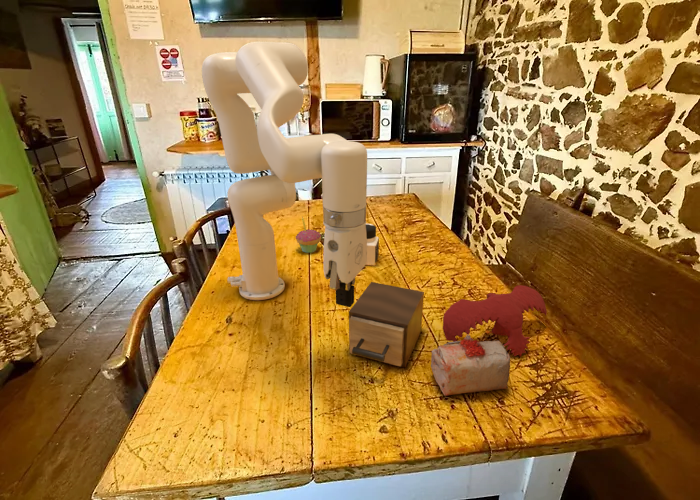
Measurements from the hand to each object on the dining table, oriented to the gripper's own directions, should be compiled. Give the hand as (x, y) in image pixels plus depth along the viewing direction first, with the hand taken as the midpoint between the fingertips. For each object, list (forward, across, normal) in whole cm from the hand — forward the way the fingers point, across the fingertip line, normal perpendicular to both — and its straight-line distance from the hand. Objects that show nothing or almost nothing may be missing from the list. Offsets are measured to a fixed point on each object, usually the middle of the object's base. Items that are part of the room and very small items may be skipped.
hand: (345, 303), depth 77 cm
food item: (+15, +4, -24) cm, 29 cm away
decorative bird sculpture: (+15, +20, -29) cm, 39 cm away
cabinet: (+15, +10, -6) cm, 19 cm away
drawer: (+14, +6, -6) cm, 16 cm away
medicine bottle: (+16, +48, +14) cm, 52 cm away
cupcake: (+16, +48, +35) cm, 62 cm away
